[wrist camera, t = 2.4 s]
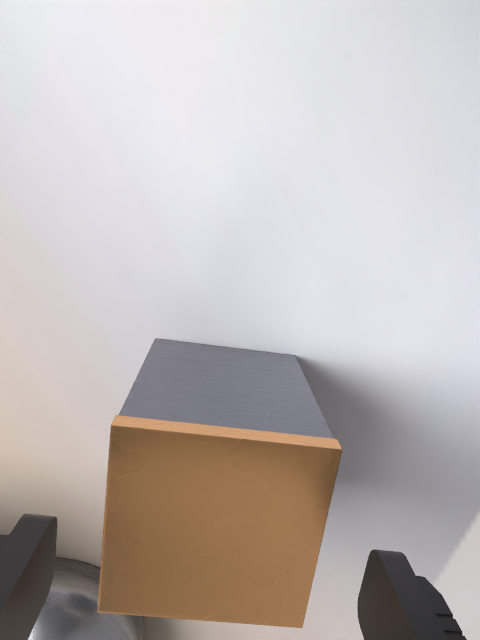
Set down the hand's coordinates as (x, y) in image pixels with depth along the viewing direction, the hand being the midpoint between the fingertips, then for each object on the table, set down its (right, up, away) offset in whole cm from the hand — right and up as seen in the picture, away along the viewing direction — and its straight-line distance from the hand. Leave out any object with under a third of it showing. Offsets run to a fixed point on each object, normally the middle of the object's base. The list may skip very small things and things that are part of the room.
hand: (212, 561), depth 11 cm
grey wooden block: (0, +2, +7) cm, 7 cm away
